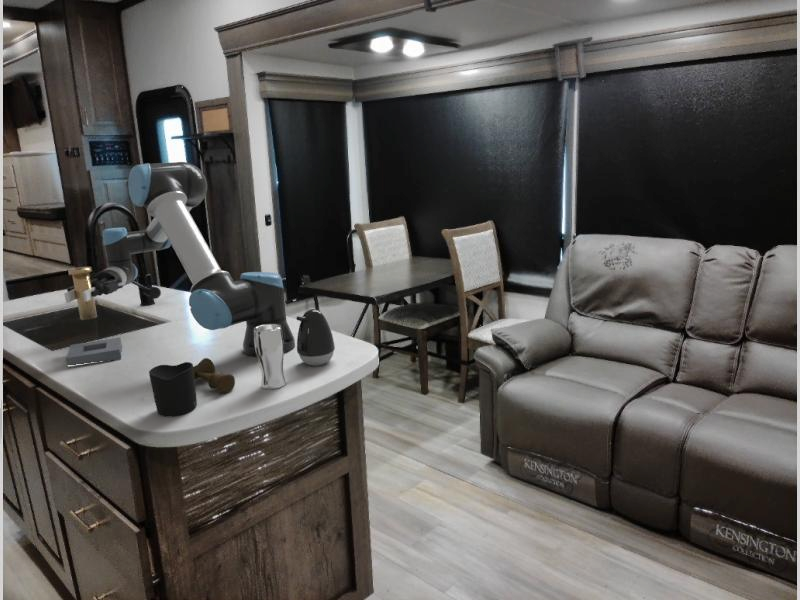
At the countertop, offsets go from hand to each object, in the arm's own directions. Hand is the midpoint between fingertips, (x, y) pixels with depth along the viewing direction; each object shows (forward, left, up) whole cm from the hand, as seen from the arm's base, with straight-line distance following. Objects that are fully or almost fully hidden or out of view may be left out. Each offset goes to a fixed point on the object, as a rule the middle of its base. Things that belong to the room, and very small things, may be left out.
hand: (75, 297), depth 168 cm
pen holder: (-50, -22, -20) cm, 58 cm away
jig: (+5, -2, -20) cm, 20 cm away
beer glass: (-47, -45, -20) cm, 68 cm away
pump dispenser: (-37, -59, -20) cm, 72 cm away
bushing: (+5, -2, -7) cm, 9 cm away
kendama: (-38, -29, -20) cm, 52 cm away
